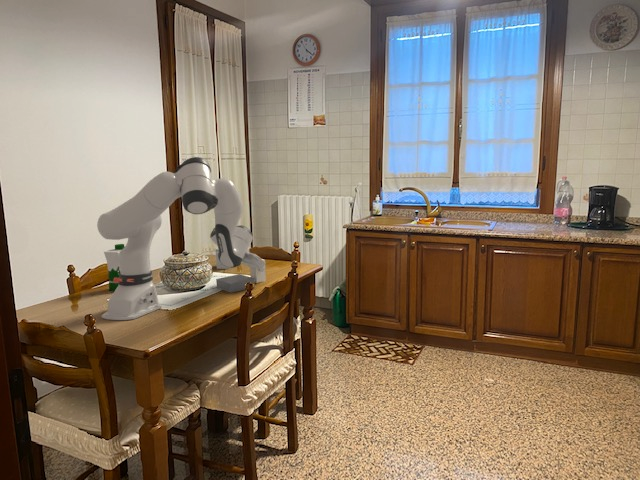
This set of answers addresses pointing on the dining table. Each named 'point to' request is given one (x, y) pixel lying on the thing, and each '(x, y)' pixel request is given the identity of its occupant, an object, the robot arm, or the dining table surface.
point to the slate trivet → (233, 283)
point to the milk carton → (113, 265)
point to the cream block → (258, 274)
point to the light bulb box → (219, 264)
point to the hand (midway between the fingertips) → (258, 269)
